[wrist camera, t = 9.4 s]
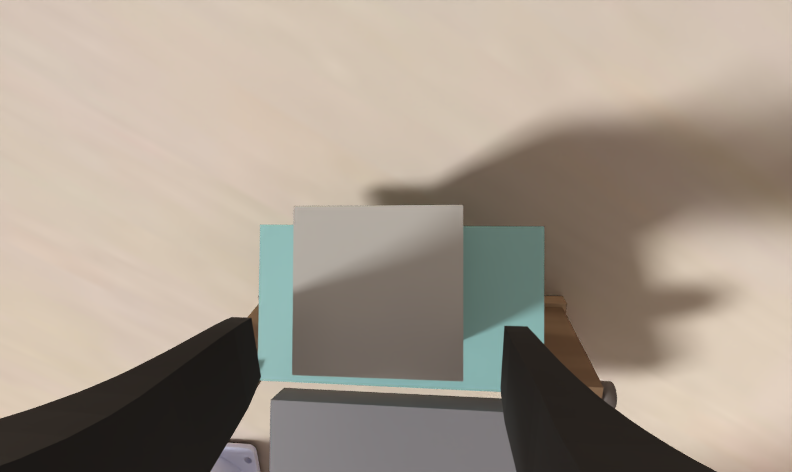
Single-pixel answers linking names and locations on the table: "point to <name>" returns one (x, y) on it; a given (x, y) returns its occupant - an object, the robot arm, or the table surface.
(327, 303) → the light grey cube
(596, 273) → the table surface
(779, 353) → the table surface
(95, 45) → the table surface
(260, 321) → the trapdoor
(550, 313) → the frame
